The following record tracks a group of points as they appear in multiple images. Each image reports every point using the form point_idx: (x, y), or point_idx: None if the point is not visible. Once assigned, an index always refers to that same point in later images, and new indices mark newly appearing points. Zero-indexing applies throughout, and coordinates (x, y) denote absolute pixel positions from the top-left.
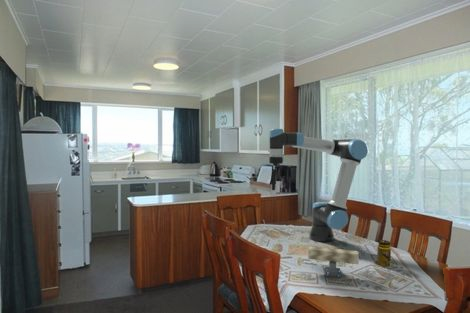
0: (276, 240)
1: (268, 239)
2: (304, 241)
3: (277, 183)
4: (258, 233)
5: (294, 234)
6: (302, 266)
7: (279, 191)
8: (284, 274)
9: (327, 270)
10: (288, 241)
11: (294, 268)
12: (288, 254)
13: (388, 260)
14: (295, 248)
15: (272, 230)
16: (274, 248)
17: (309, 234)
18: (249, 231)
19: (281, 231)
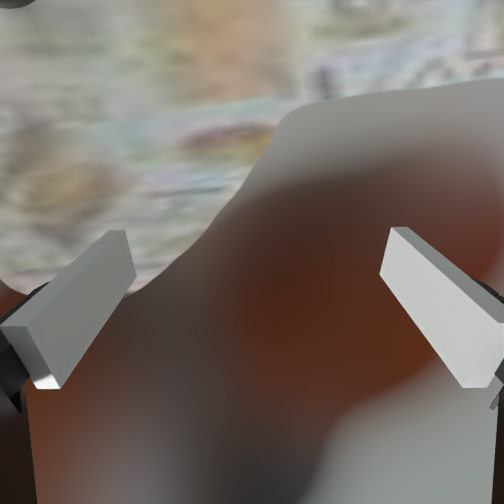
0: (146, 166)
1: (149, 198)
2: (94, 31)
3: (71, 327)
4: None
5: (16, 100)
6: (421, 5)
7: (120, 237)
8: (497, 74)
9: None
10: (134, 114)
11: (442, 40)
12: (295, 89)
13: None
14: (213, 67)
15: (26, 205)
16: (242, 157)
17: (6, 2)
18: None
19: (13, 167)
